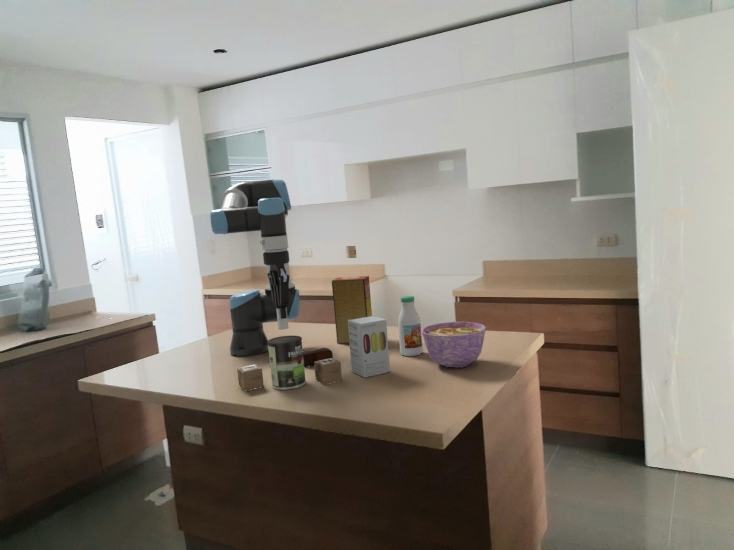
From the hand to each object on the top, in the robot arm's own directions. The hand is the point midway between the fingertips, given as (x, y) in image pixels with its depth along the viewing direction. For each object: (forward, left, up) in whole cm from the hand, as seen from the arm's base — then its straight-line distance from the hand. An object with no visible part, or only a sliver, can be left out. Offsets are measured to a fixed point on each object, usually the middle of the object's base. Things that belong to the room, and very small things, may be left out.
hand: (283, 328), depth 167 cm
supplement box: (+6, +25, -18) cm, 31 cm away
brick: (-16, +16, -18) cm, 28 cm away
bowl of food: (+18, +49, -18) cm, 55 cm away
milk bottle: (-3, +46, -18) cm, 49 cm away
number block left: (-6, -10, -17) cm, 21 cm away
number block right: (+5, +11, -17) cm, 21 cm away
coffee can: (0, 0, -18) cm, 18 cm away
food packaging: (-36, +41, -18) cm, 57 cm away
